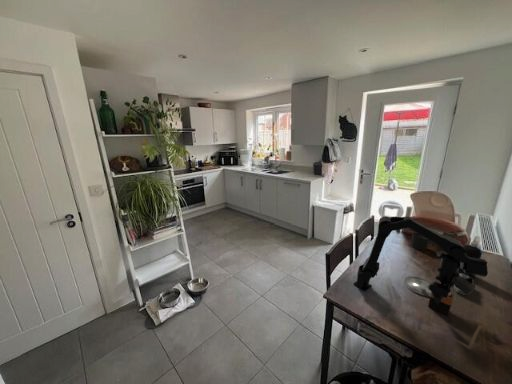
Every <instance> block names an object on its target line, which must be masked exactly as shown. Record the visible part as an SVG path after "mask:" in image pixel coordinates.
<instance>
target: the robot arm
mask: <svg viewBox="0 0 512 384" xmlns="http://www.w3.org/2000/svg"><path fill="white" fill-rule="evenodd" d="M404 229H409V230H411V231H413V232H414V233H418V234H420V235H422V236H423V237H425V238H427V239H429V241H431V242H432V243H434V244H435V245H436V246H438V247H439V248H440V249H441V251H437V252H436V256H437V258H438V259H439V258H440V259H441V260H440V264H439V267H438V268H437V275H436V276H435V281H430V282H431V284H430V285H429V288H428V289H429V290H430V291H431V292H432V294H433V297H434V299H435V302H436V303H438V304H439V303H440V301H441V300H442V298H443V297H446V298H447V297H448V296H449V295H450V293H451V288H454V285H455V286H456V287H457V288H458V289H460V290H461V291H462V292H463V293H465V294H467V296H469V294H471V293H472V292H473V291H474V290H476V284H475V283H474V280H475V279H472V278H471V277H465V278H464V277H461V276H460V275H459V274H460V273H459V271H458V270H459V266H460V268H461V269H463V271H464V272H465V273H469V274H474V275H475V276H477V277H478V276H479V277H482V278H485V277H487V275H488V274H489V273H488V272H489V271H488V261H487V260H486V259H483V258H480V259H477V258H472V257H468V256H467V255H466V250H465V248H464V247H463V246H464V244H462V243H461V241H460V240H458V239H456V238H453V237H451V236H448V235H443V234H441V233H439V232H437V231H436V230H433V229H432V228H430V227H427V226H426V225H424V224H422V223H420V222H419V221H417V220H415V219H414V218H413V217H411V216H381V217H380V218H379V220H378V225H377V234H376V237H375V239H374V242H373V245H372V248H371V250H370V254H369V256H368V257H367V258H366V259H365V261H364V262H363V264H361V265H359V266H358V268H357V269H358V270H357V274H356V275H357V277H356V278H357V279H356V281H355V282H353V285H354V286H355V287H357V288H358V289H360V290H362V291H364V292H367V291H368V290H369V289H371V288H372V284H370V280H371V279H372V278H375V277H376V276H378V272H379V271H380V262H378V260H379V259H380V255H381V252H382V251H383V250H382V249H383V246H384V244H385V242H386V239H387V238H388V237H389V236H390V235H391V233H392V232H394V231H400V230H404ZM436 280H438V281H439V282H437V281H436Z"/></svg>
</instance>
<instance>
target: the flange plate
mask: <svg viewBox="0 0 512 384" xmlns="http://www.w3.org/2000/svg"><path fill="white" fill-rule="evenodd" d="M431 282H432V281H429V280H427V279H425V278H421V277H418V276H407V277H405V279H404V285H405V287H406V288H408V290H410V291H411V292H413V293H415V294H417V295H420V296H423V297H426V298H430V296H431V291H430V290H429V289H428V288H429V285H430V284H431Z"/></svg>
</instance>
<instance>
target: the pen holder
mask: <svg viewBox="0 0 512 384" xmlns="http://www.w3.org/2000/svg"><path fill="white" fill-rule="evenodd" d="M411 235H412V236H411V243H410V246H411V248H412V249H415V250H417V251H421V252H423V251H426V250H427V249H428V246H429V241H430V240H429V239H427V238H425V237H423V236H422V235H420V234H418V233H416V232H415V231H413V232H412V234H411Z"/></svg>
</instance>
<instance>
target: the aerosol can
mask: <svg viewBox="0 0 512 384" xmlns="http://www.w3.org/2000/svg"><path fill="white" fill-rule="evenodd" d="M463 247H464V248H465V250H466V255H467V256H468V257H472V258H477V259H482V254H483V251H482V250H481V248H479V247H478V246H477V242H475V241H471V242H470V244H465V245H464V244H463ZM458 271H459V273H462V274H466V275H467V276H469V277H471V278H472V279H474V280H475V279H476V275H474V274H469V273H465V272H464V271H463V269H461V268H460V266H459V270H458Z"/></svg>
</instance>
